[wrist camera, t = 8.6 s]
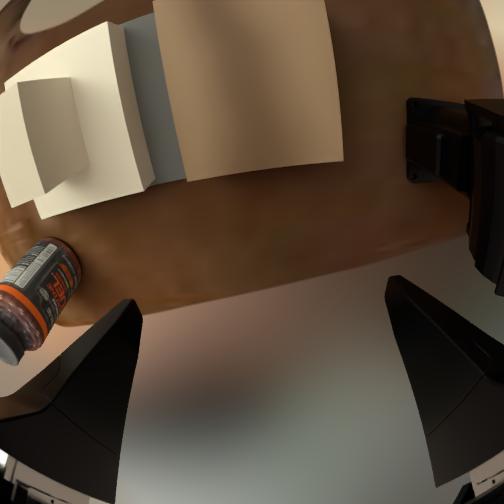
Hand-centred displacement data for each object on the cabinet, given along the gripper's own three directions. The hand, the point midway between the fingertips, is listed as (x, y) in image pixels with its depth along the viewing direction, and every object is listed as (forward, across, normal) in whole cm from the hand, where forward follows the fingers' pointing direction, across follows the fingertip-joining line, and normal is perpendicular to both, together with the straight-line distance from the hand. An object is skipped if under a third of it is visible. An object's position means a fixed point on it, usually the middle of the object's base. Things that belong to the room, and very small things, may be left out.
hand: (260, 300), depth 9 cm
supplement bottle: (+12, +19, +4) cm, 23 cm away
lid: (+11, +12, -7) cm, 17 cm away
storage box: (+12, 0, -7) cm, 14 cm away
